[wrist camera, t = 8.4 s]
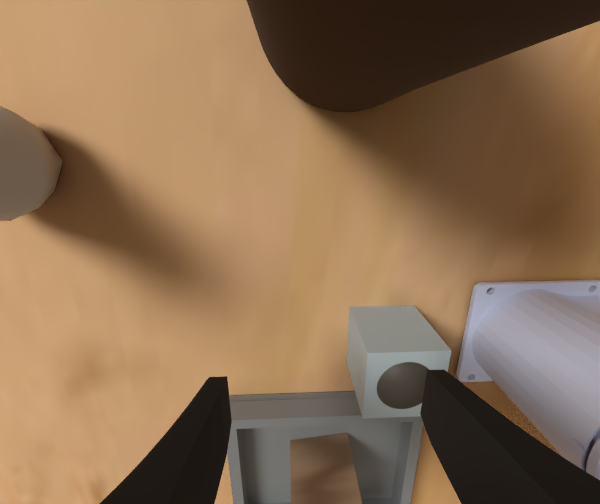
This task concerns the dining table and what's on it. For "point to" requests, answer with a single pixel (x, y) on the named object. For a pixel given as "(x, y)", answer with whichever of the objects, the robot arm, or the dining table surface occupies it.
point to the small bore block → (323, 471)
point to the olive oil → (398, 41)
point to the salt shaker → (24, 166)
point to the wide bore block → (392, 359)
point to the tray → (310, 423)
